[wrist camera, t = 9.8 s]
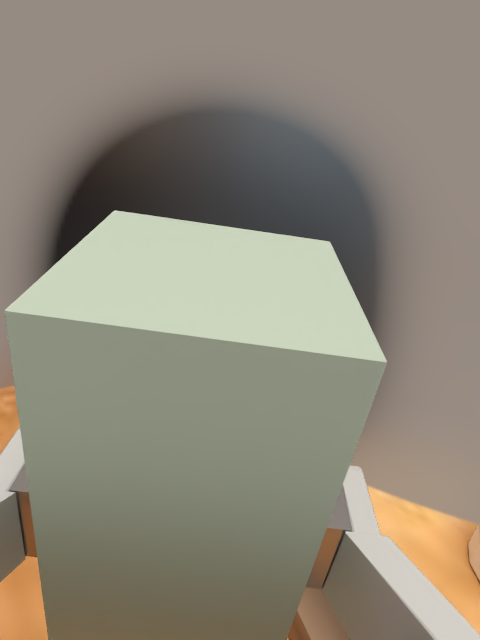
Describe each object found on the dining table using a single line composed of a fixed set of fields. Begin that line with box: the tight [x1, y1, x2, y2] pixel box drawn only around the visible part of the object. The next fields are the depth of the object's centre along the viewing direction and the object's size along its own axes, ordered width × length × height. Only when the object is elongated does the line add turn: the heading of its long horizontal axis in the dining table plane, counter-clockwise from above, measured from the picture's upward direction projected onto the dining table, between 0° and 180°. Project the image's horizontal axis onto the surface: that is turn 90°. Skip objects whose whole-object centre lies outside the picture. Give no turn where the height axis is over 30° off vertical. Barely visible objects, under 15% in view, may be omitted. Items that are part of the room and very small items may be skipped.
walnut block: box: [288, 587, 350, 640], centre depth 26 cm, size 6×6×3 cm
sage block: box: [5, 211, 387, 640], centre depth 9 cm, size 4×4×12 cm
